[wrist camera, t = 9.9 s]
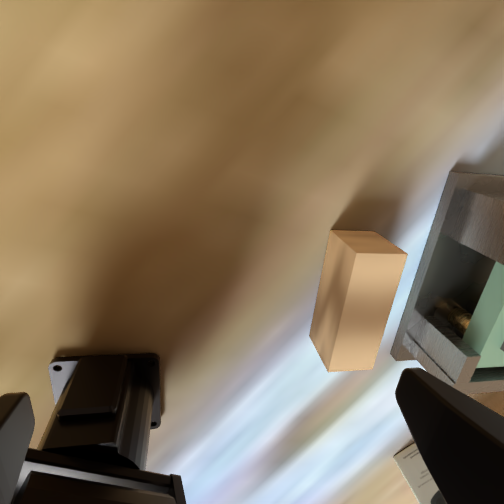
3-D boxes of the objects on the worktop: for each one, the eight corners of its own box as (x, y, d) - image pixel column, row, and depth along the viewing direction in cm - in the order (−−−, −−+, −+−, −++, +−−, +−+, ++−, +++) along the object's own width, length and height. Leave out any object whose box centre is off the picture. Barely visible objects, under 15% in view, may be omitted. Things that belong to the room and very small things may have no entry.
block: (348, 334, 24) (372, 369, 21) (309, 335, 23) (328, 372, 20) (374, 231, 21) (407, 254, 18) (330, 230, 20) (356, 253, 17)
